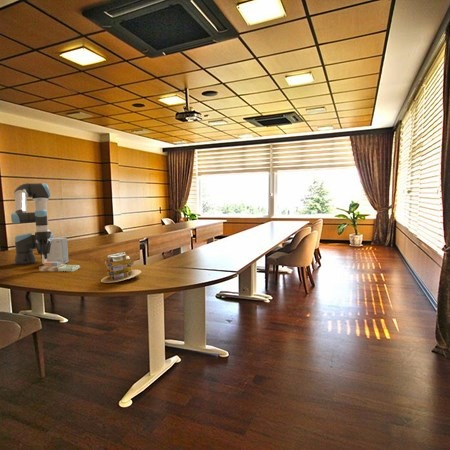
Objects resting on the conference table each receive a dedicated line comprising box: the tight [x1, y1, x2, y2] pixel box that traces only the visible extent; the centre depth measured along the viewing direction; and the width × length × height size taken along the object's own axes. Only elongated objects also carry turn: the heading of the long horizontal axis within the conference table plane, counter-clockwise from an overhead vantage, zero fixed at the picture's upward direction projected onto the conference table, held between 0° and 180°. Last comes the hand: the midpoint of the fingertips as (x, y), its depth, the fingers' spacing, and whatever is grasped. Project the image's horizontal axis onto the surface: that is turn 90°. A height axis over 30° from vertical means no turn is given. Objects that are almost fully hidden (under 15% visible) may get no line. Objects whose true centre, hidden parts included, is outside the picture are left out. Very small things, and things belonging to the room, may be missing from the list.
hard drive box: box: [47, 237, 70, 264], centre depth 242 cm, size 16×8×20 cm, turn 84°
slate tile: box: [51, 261, 61, 266], centre depth 223 cm, size 4×4×2 cm
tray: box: [57, 264, 81, 273], centre depth 222 cm, size 11×10×2 cm
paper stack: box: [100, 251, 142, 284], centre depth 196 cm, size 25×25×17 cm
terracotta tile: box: [43, 261, 54, 266], centre depth 223 cm, size 4×4×2 cm
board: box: [38, 263, 67, 272], centre depth 223 cm, size 14×10×3 cm
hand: (44, 263), depth 223 cm, fingers closed
